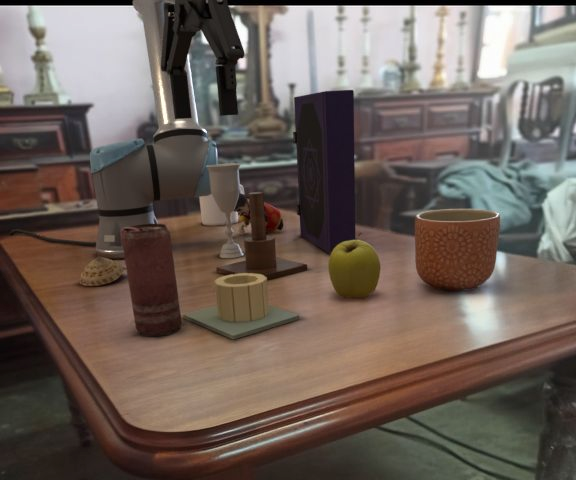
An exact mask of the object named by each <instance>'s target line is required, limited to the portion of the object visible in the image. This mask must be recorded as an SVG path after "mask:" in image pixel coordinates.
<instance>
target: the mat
mask: <svg viewBox="0 0 576 480" xmlns="http://www.w3.org/2000/svg"><path fill="white" fill-rule="evenodd" d="M182 318H183V319H184V320H187V321H189V322H192V323H194V324H196V325H199V326H200V327H203V328H205V329H208V330H210V331H212V332H214V333H217V334H218V335H222V336H224V337H226V338H228V339H231V340H233V341H234V340H238V339H241V338H244V337H246V336H251V335H253V334H257V333H259V332H260V333H261V332H263V331H267V330H268V329H272V328H275V327H276V328H277V327H279V326H282V325H285V324H288V323H292V322H295V321H298V320H300V314H297V313H295V312H292V311H288V310H285V309H282V308H278V307H276V306H273V305H271V304H269V313H268V314H267V315H266V316H265V317H264V318H260V319H257V320H254V321H251V320H250V321H248V322H236V321H235V322H230V321H224V320H221V319H220V318H219V317H218V313H217V304H216V305H212V306H207V307H204V308H201V309H200V308H199V309H197V310H193V311H191V312H186V313H183V314H182Z"/></svg>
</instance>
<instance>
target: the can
mask: <svg viewBox="0 0 576 480" xmlns="http://www.w3.org/2000/svg"><path fill="white" fill-rule="evenodd" d="M121 241H122V247H123V251H124V257H125V258H124V262H125V263H124V264H125V267H126V275H127V281H128V288H129V293H130V299H131V306H132V312H133V319H134V324H135V329H136V331H137V332H138V333H139V334H140V335H141V336H145V337H161V336H167V335H171V334H173V333H176V332H178V331H179V330H180V328H181V326H182V315H181V307H180V299H179V292H178V285H177V276H176V269H175V261H174V253H173V246H172V239H171V232H170V229H168V227H167V225H166V224H165V223H164V224H163V223H158V224H142V225H135V226H130V227H124V228H123V229H122V230H121Z"/></svg>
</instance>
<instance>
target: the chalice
mask: <svg viewBox="0 0 576 480" xmlns="http://www.w3.org/2000/svg"><path fill="white" fill-rule="evenodd" d="M206 167H207V169H208V171H209V177H210V187H211V193H212V195H213V198H214V200H215V202H216V204H217V205H218V207H219V209H220V211H221V212H223V213H225V215H226V222H225V224H226V225H225V226H226V231H225V232H224V233H225V234H226V236H227V241H226V243H224V244H222V247H221V250H220V254H219V257H220V258H222V259H235V258H240V257H244V256H245V253H244V252H243V251H242V248H241V247H240V245H239V243H236V242H235V241H234V240H233V233H234V232H235V231H234V230H233V229H232V225H233V224H232V221H231V218H230V213H231V212H233V211H234V209H235V207H236V204H237V201H238V197H239V194H241V193H240V184H241V182H240V167H241V163H238V162H237V163H218V164H215V165H208V166H206Z"/></svg>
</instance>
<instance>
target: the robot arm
mask: <svg viewBox="0 0 576 480" xmlns="http://www.w3.org/2000/svg"><path fill="white" fill-rule="evenodd" d="M131 1H132V6H133V8H134V10H135V11H136V12H138V13H139V14H140V15H141V18H142V24H143V31H144V37H145V44H146V45H145V46H146V50H147V51H146V52H147V59H148V64H149V70H150V71H149V72H150V77H151V85H152V91H153V97H154V98H153V99H154V104H155V110H156V118H157V124H158V129H157V131H155V133H154V134H153V136H152V139H153V144H146V141H144V139H143V138H135V139H130V140H124V141H119V142H114V143H110V144H105V145H101V146H96V147H94V148H93V149H92V150H91V151H90V152H89V165H90V174H91V175H92V180H93V188H94V192H95V199H96V206H97V211H98V219H99V222H98V228H97V234H96V235H97V236H96V240H95V241H83V240H73V239H72V240H71V239H62V238H61V239H60V238H53V237H52V238H51V237H48V236H44V235H42V236H40V235H41V234H39V235H37V234H38V233H36V232H33V231H27V230H23V229H18V228H15V229H12V230H11V231H10V233H9V236H13V235H15V233H18V234H19V233H20V234H23V235H27V236H33V237H35V238H38V239H40V240H43V241H46V242H52V243H58V244H68V245H69V244H70V245H79V246H93V247H95V251H96V257H103V258H108V259H111V260H113V259H115V260H119V259H125V257H124V251H123V247H122V241H121V230H122V229H123V228H124V227H130V226H135V225H142V224H159V221H158V220H157V218H156V216H155V211H154V205H153V202H158V201H159V202H160V201H168V200H169V201H170V200H180V199H196V198H199V197H201V196H208V195H210V194H212V193H211V187H210V177H209V171H208V169H207V167H206V166H208V165H215V164H219V162H218V148H217V142H215V141H214V140H212V139H208V133H207V130H206V129H205V128H204V127H202V126H201V125H200V124H199V119H198V112H197V106H196V105H197V104H196V99H195V98H196V97H195V91H194V84H193V78H192V77H193V76H192V71H191V63H190V57H189V56H190V55H189V52H190V49H191V44H192V40H193V37H195V36H196V35H197V33H198V32H200V31H201V32H202V34H203V36H204V38H205V40H206V41H207V43H208V45H209V48H210V50H211V51H212V52H213V55H214V56H215V58H216V59H215V63H214V64H215V65H216V66H215V77H216V86H217V87H216V88H217V97H218V108H219V116H224V117H225V116H239V107H238V94H237V87H238V84H237V83H238V82H237V71H236V65H237V64H238V61H239V60H240V59H244V58H245V50H244V47H243V44H242V41H241V38H240V35H239V32H238V29H237V26H236V24H235V20H234V18H233V15H232V13H231V9H230V6H229V4H228V0H131Z"/></svg>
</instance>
